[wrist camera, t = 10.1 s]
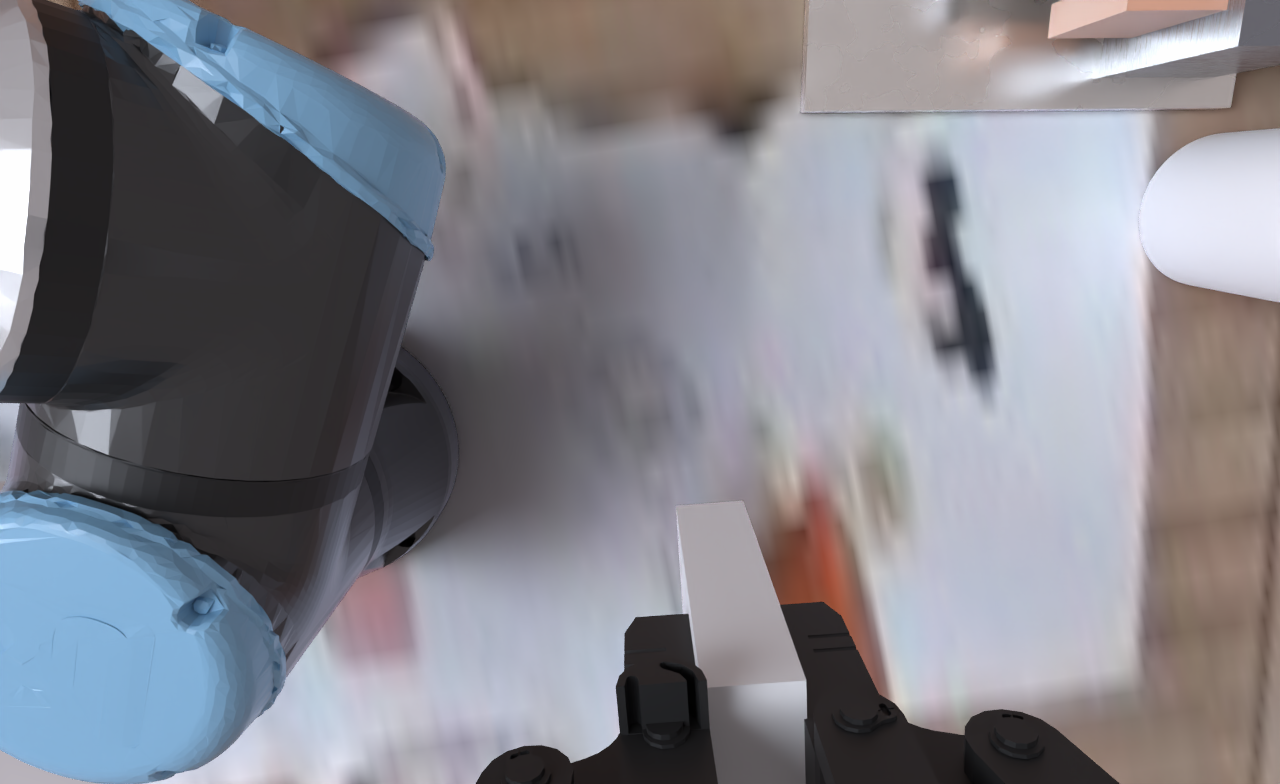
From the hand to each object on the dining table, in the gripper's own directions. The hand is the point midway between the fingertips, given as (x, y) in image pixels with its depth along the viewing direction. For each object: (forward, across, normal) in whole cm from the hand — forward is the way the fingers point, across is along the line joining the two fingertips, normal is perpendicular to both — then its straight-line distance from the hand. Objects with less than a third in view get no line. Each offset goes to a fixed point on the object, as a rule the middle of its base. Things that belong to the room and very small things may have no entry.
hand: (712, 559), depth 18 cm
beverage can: (+29, +30, +4) cm, 42 cm away
